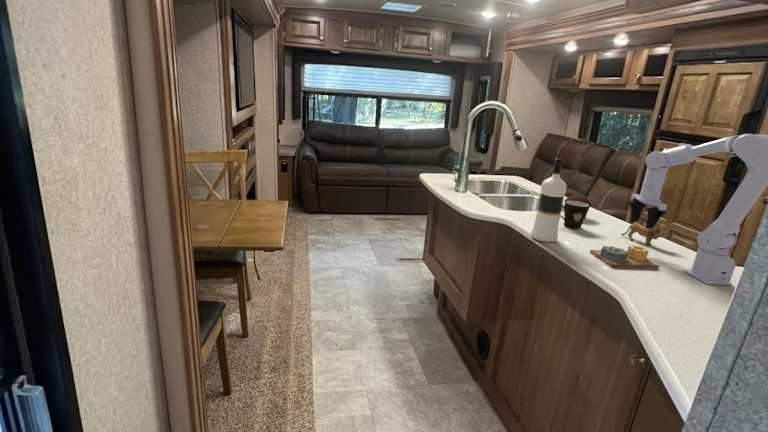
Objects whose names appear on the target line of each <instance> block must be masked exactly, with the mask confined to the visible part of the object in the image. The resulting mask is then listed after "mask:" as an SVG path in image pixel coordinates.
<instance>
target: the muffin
mask: <svg viewBox="0 0 768 432" xmlns="http://www.w3.org/2000/svg"><path fill="white" fill-rule="evenodd" d="M566 201H578V202H582V203H586V204H588V205H589V206H588V209H587V212H586V215H585V217H584V220H586V218H587V214H588V212H589V210H590V208H591V207H592V203H591V201H590V199H589V198H588V197H587V196H585V195H583V194H576V193H575V194H572V195H569V196H567V197H566V198H564V200H563V203H564V206H566ZM563 209H564V208H563ZM563 214H564V217H565V209H564V211H563Z"/></svg>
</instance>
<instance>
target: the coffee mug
mask: <svg viewBox="0 0 768 432" xmlns="http://www.w3.org/2000/svg"><path fill="white" fill-rule="evenodd" d="M588 206H589V205H588V204H586V203H582V202H578V201H566V206H565V205H562V208H563V209H565V216H564V217H563V216H562V215H561V217H560V219H562V220H563V221H564V222H563V227H565V228H566V229H567V228H568V229H571V230H581V228H582V226H583V222H584V221H585V219H584V217H585V215H586V212H587V209H588ZM587 213H588V212H587ZM586 216H587V215H586ZM585 218H586V217H585Z"/></svg>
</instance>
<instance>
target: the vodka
mask: <svg viewBox="0 0 768 432" xmlns="http://www.w3.org/2000/svg"><path fill="white" fill-rule="evenodd" d="M563 163H564V159H562V158H560V157H559V158H555V159H554V164H553V170H552V174H551V176H549V177H548V178H546V179H544V180H543V181H542V182H541V187H540V195H539V201H538V205H537V210H536V212H535V213H536V214H535V215H536V216H535V221H534V224H533V228H532V229H531V232H530V236H531V237H532V238H533V239H534V240H536V241H539V242H542V243H548V244H549V243H554V242H556V241H557V240H558V237H559V234H558V233H559V224H560V219H561V216H562V215H561V214H562V209H563V207H562V205H563V203H564V200H565V196H566V191H567V183H566V182H565V181H564V179H562V178H561V171H562V169H563V167H562V166H563ZM563 206H564V205H563Z"/></svg>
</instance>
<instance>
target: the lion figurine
mask: <svg viewBox="0 0 768 432" xmlns="http://www.w3.org/2000/svg"><path fill="white" fill-rule="evenodd" d="M667 228H668V227H667V226H666V225H665V224H664V223H658V224H657V223H656V224H655V226H654V227H653V228H646V226H644V225H642V224H640V223H639V222H633V223H631V224H630V225H629V227H628V229H627V230H626V231H625V232H624V233H621V234H620V235H621V236H626V235H627V237H628V239H629V241H634V239H633V238H632V237H633V235H634V234H635V233H637V234H638V235H639V236H641V237H645V244H644V245H645V246H646V247H650V246H652V243H651V242H652V240H657V239H658V238H662V237H665V235H666V234H667Z"/></svg>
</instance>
